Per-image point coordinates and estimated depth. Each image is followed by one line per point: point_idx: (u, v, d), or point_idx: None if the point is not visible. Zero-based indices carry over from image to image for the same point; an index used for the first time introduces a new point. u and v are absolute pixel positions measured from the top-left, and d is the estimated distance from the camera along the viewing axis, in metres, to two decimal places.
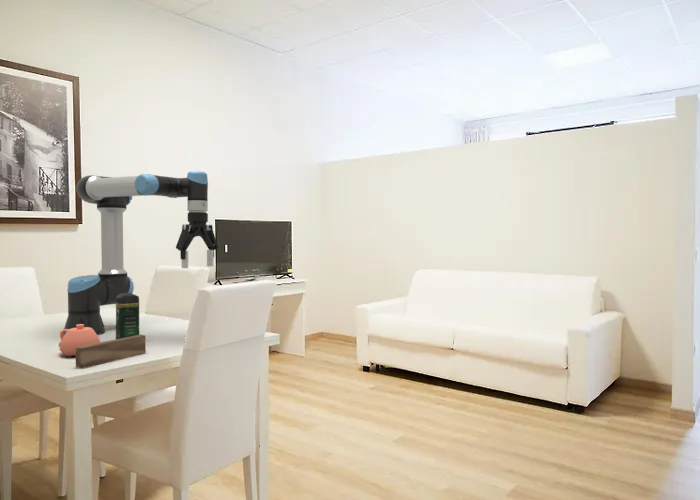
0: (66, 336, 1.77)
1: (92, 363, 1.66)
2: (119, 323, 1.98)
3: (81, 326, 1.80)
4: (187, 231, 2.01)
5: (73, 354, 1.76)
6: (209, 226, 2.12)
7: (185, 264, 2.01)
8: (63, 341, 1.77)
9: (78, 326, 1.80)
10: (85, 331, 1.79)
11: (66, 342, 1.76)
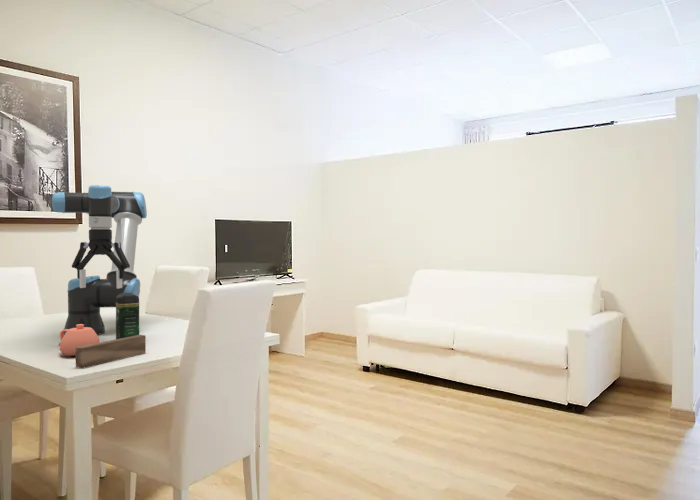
0: (66, 336, 1.77)
1: (92, 363, 1.66)
2: (119, 323, 1.98)
3: (81, 326, 1.80)
4: (81, 249, 1.92)
5: (73, 354, 1.76)
6: None
7: None
8: (63, 341, 1.77)
9: (78, 326, 1.80)
10: (85, 331, 1.79)
11: (66, 342, 1.76)
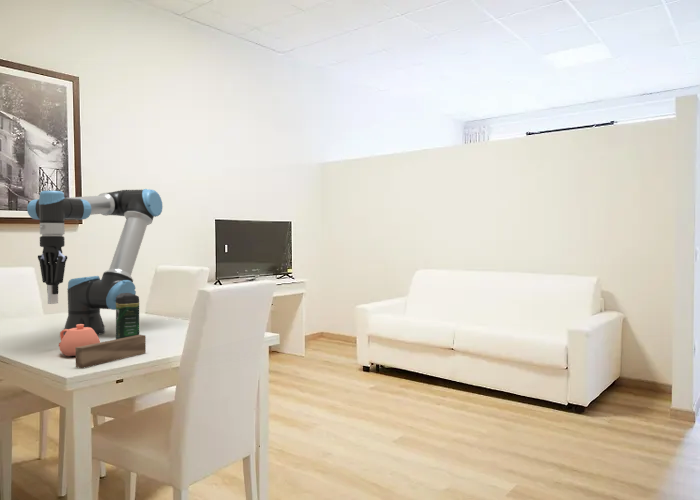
0: (66, 336, 1.77)
1: (92, 363, 1.66)
2: (119, 323, 1.98)
3: (81, 326, 1.80)
4: (40, 261, 1.88)
5: (73, 354, 1.76)
6: None
7: None
8: (63, 341, 1.77)
9: (78, 326, 1.80)
10: (85, 331, 1.79)
11: (66, 342, 1.76)
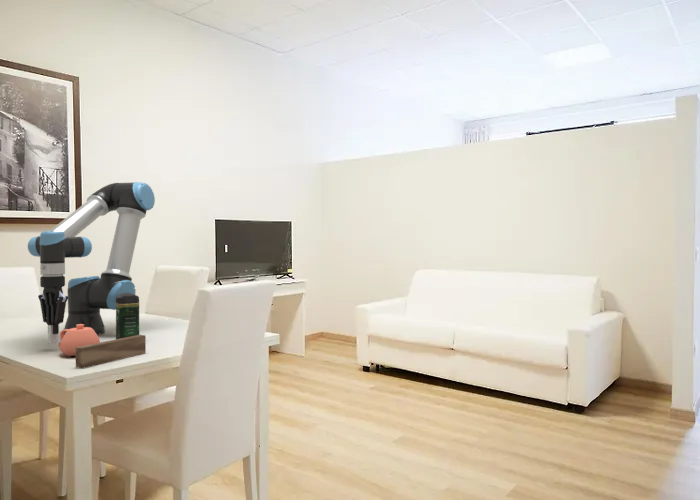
0: (66, 336, 1.77)
1: (92, 363, 1.66)
2: (119, 323, 1.98)
3: (81, 326, 1.80)
4: (41, 301, 1.88)
5: (73, 354, 1.76)
6: None
7: None
8: (63, 341, 1.77)
9: (78, 326, 1.80)
10: (85, 331, 1.79)
11: (66, 342, 1.76)
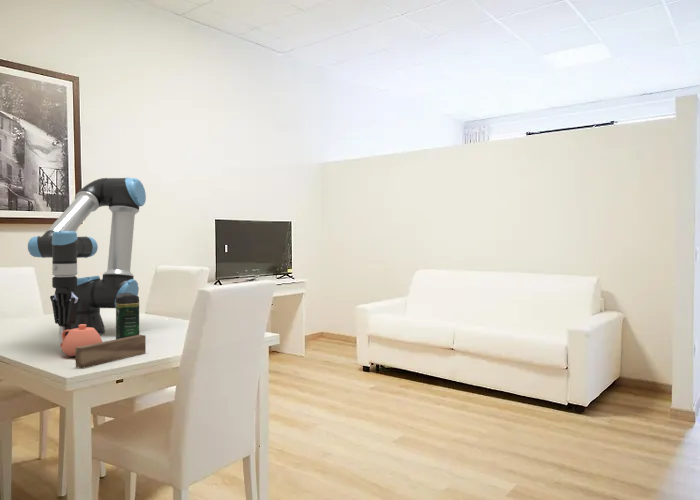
0: (69, 336, 1.76)
1: (92, 363, 1.66)
2: (119, 323, 1.98)
3: (83, 326, 1.80)
4: (52, 302, 1.85)
5: None
6: None
7: None
8: (66, 341, 1.76)
9: (80, 326, 1.79)
10: (88, 331, 1.78)
11: (68, 342, 1.75)
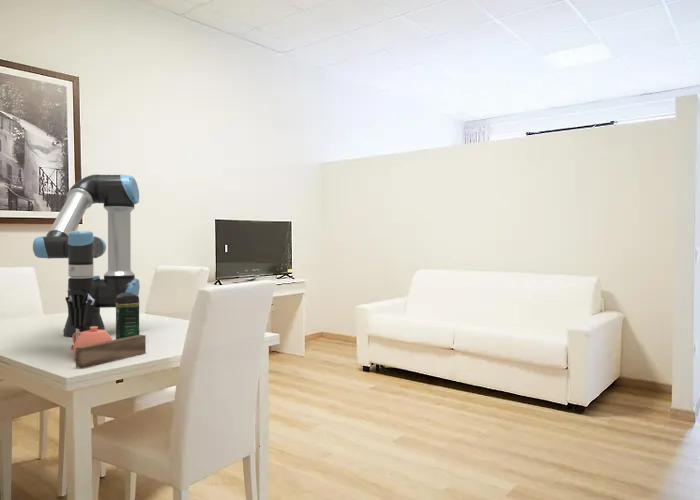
0: (80, 339, 1.72)
1: (92, 363, 1.66)
2: (119, 323, 1.98)
3: (95, 328, 1.75)
4: (68, 304, 1.81)
5: None
6: None
7: None
8: (77, 344, 1.72)
9: (92, 328, 1.75)
10: (100, 333, 1.74)
11: (80, 345, 1.71)
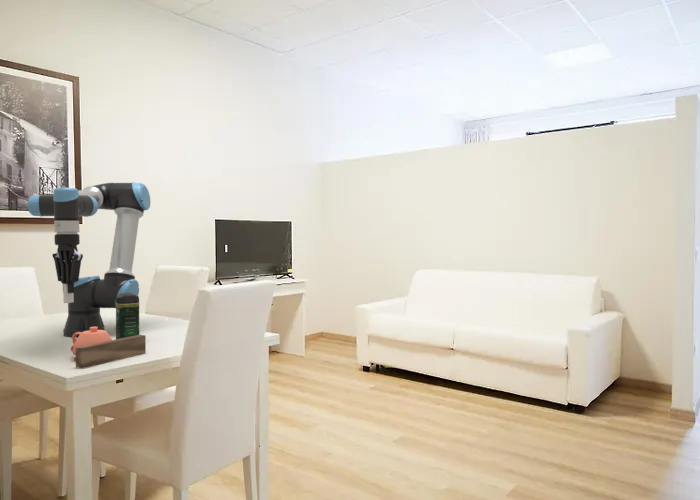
0: (80, 339, 1.72)
1: (92, 363, 1.66)
2: (119, 323, 1.98)
3: (95, 329, 1.75)
4: (55, 260, 1.84)
5: None
6: None
7: None
8: (77, 344, 1.72)
9: (92, 329, 1.75)
10: (100, 334, 1.74)
11: (80, 345, 1.71)
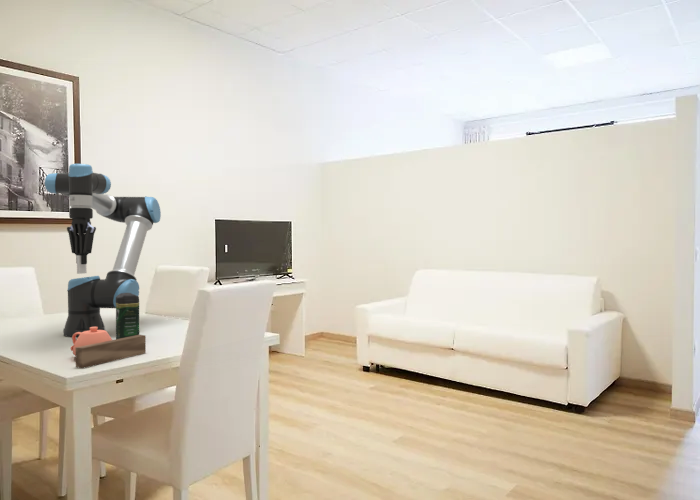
0: (80, 339, 1.72)
1: (92, 363, 1.66)
2: (119, 323, 1.98)
3: (95, 329, 1.75)
4: (69, 233, 1.94)
5: None
6: None
7: None
8: (77, 344, 1.72)
9: (92, 329, 1.75)
10: (100, 334, 1.74)
11: (80, 345, 1.71)
